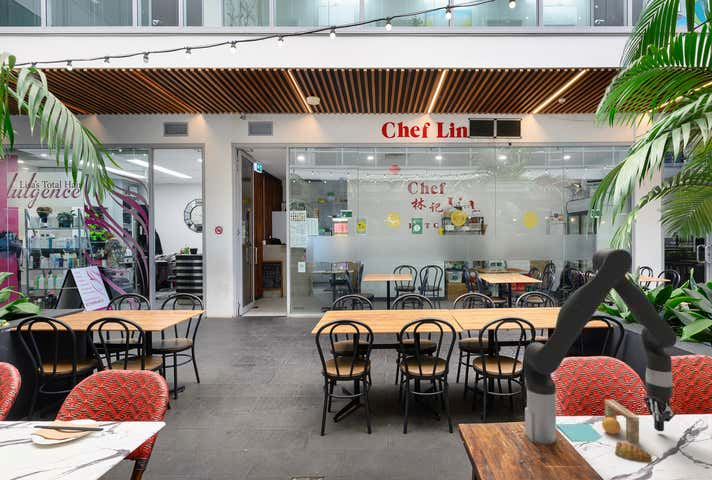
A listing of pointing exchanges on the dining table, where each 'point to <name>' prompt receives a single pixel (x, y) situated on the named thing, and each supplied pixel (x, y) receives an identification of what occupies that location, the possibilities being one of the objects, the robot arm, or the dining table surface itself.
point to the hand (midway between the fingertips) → (659, 430)
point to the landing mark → (579, 432)
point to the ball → (611, 425)
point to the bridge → (631, 419)
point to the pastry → (631, 452)
